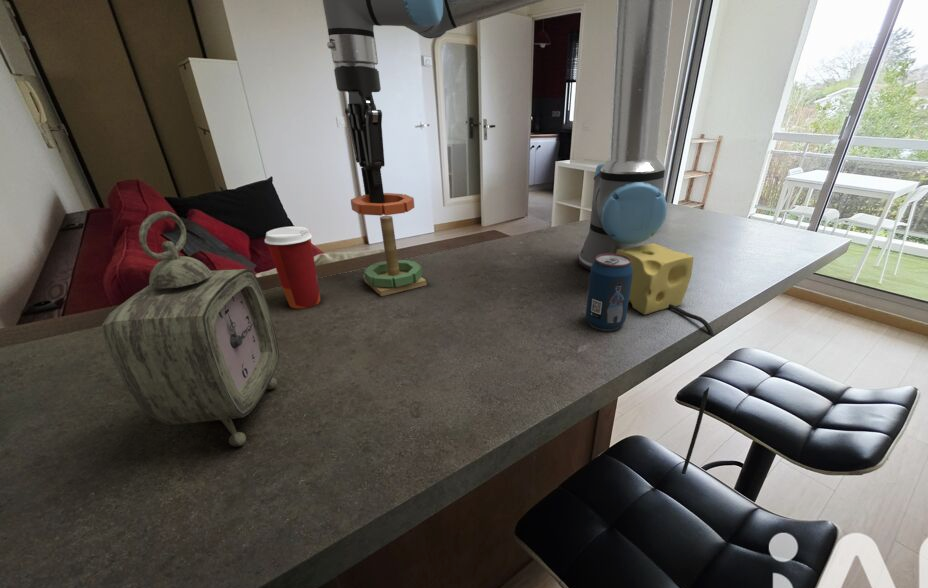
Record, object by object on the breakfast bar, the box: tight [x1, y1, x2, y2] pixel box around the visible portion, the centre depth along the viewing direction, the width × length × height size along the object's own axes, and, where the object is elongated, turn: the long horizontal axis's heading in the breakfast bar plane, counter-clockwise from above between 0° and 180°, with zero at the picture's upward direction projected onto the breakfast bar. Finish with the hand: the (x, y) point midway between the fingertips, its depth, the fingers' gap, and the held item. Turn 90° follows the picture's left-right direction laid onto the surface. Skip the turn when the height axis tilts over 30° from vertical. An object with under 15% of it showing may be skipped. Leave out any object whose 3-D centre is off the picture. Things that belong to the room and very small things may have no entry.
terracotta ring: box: [350, 192, 415, 217], centre depth 81 cm, size 11×11×2 cm
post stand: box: [363, 215, 427, 297], centre depth 86 cm, size 10×10×14 cm
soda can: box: [585, 253, 633, 332], centre depth 71 cm, size 7×7×12 cm
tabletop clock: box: [101, 210, 280, 448], centre depth 45 cm, size 14×9×25 cm, turn 9°
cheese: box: [616, 242, 694, 316], centre depth 80 cm, size 10×11×10 cm
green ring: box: [363, 259, 423, 287], centre depth 88 cm, size 11×11×2 cm
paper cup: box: [264, 225, 321, 310], centre depth 77 cm, size 8×8×14 cm
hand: (375, 201), depth 85 cm, fingers closed on terracotta ring, 2 cm apart
